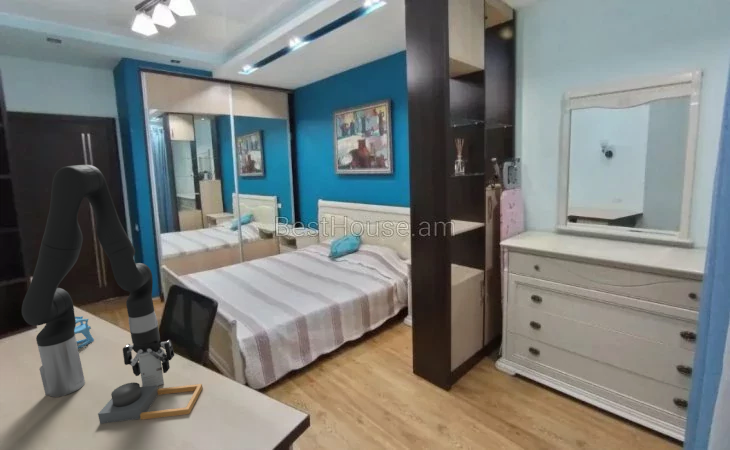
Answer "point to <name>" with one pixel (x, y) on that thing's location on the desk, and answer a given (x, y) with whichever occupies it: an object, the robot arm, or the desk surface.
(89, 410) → the desk surface
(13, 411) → the desk surface
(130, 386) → the dome slab with frame
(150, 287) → the robot arm
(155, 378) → the skincare box
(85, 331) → the chair
